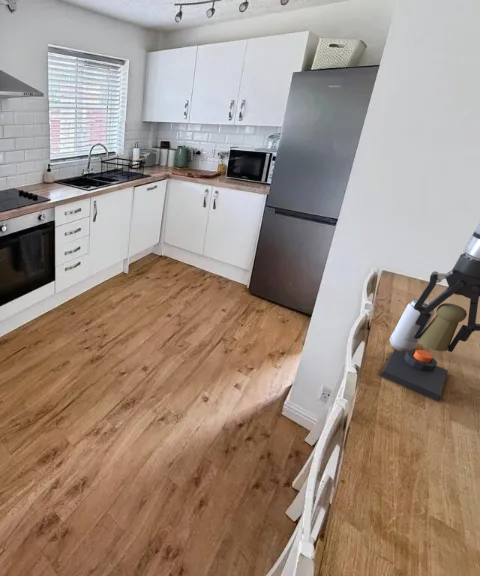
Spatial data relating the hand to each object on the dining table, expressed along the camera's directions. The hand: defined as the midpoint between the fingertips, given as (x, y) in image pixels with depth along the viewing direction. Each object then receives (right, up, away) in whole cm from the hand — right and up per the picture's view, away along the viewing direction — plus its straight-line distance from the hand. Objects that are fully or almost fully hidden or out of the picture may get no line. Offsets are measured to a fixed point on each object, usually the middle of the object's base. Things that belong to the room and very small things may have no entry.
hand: (433, 342), depth 91 cm
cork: (0, -1, 0) cm, 1 cm away
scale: (+1, -10, +7) cm, 12 cm away
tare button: (+5, -6, +9) cm, 11 cm away
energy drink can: (+7, -4, +19) cm, 21 cm away
